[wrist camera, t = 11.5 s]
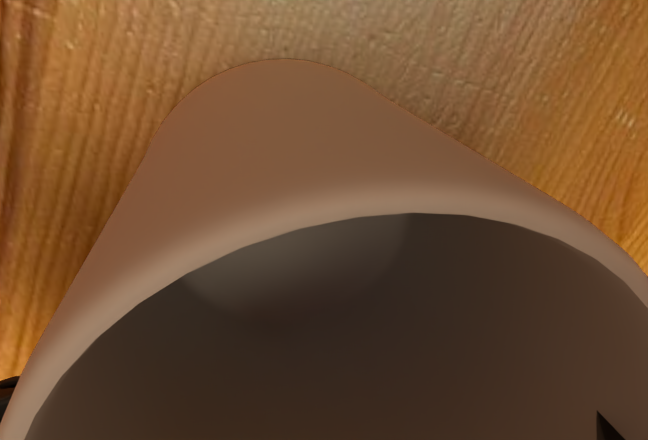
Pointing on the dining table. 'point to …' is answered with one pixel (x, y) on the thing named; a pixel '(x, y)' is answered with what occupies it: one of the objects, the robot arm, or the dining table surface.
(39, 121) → the dining table surface
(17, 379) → the robot arm
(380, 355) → the mug
